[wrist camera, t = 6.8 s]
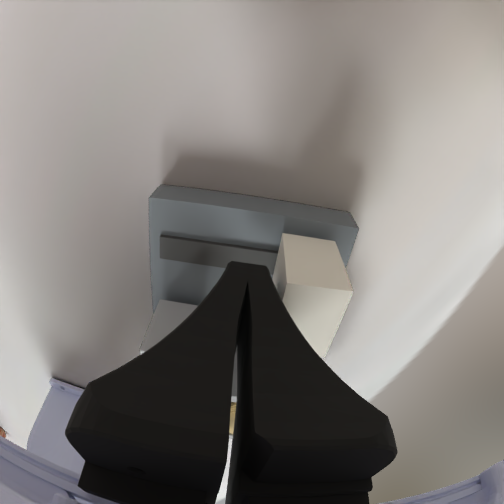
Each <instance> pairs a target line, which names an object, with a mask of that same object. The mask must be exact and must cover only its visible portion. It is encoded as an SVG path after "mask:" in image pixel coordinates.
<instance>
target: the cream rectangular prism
mask: <svg viewBox="0 0 504 504" xmlns="http://www.w3.org/2000/svg"><path fill="white" fill-rule="evenodd" d="M272 280H273V283H274V285H275V287H276V289H277V291H278V294H279V296H280V298H281V299H282V301H283V303H284V305H285V307H286V309H287V311H288V312H289V314H290V316H291V318H292V319H293V321H294V322H295V324H296V326H297V327H298V329H299V330H300V332H301V333H302V335H303V336H304V337H305V339H306V340H307V341H308V343H309V344H310V345H311V347H312V348H313V349H314V351H315V352H316V353H317V354H318V355H319V357H321V358H324V357H325V355H326V353H327V351H328V349H329V347H330V345H331V343H332V340H333V338H334V336H335V334H336V332H337V329H338V327H339V325H340V323H341V320H342V318H343V316H344V313H345V311H346V309H347V306H348V304H349V302H350V299H351V297H352V294H353V292H354V291H353V288H352V285H351V283H350V280H349V277H348V274H347V271H346V269H345V266H344V263H343V261H342V258H341V255H340V253H339V250H338V247H337V245H336V242H335V241H331V240H324V239H318V238H312V237H305V236H299V235H293V234H286V233H282V237H281V242H280V246H279V251H278V256H277V260H276V265H275V269H274V274H273V278H272Z"/></svg>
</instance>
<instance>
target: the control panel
mask: <svg viewBox="0 0 504 504" xmlns="http://www.w3.org/2000/svg"><path fill="white" fill-rule="evenodd" d="M0 436H2V437H4V438H5V437H6V434H5V432H4V430H3V429H2V428H0Z"/></svg>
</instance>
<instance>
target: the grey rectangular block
mask: <svg viewBox="0 0 504 504" xmlns="http://www.w3.org/2000/svg"><path fill="white" fill-rule="evenodd" d="M196 308H197V305H191V304H185V303H179V302H173V301H167V300H162V299H160V300H159V303H158V305H157V307H156V310H155V312H154V315H153V317H152V320H151V322H150V325H149V327H148V330H147V332H146V335H145V337H144V340H143V342H142V345H141V347H140V355H141V354H142V353H144V352H145V351H147V350H148V349H150V348H151V347H153V346H154V345H155V344H157V343H158V342H159V341H161V340H162V339H163V338H164V337H166V336H167V335H168V334H169V333H171V332H172V331H173V330H174V329H175V328H176V327H177V326H179V325H180V324H181V323H182V322H183V321H184V320H185V319H186V318H187V317H188V316H189V315H190V314H191V313H192V312H193V311H194V310H195V309H196Z"/></svg>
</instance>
